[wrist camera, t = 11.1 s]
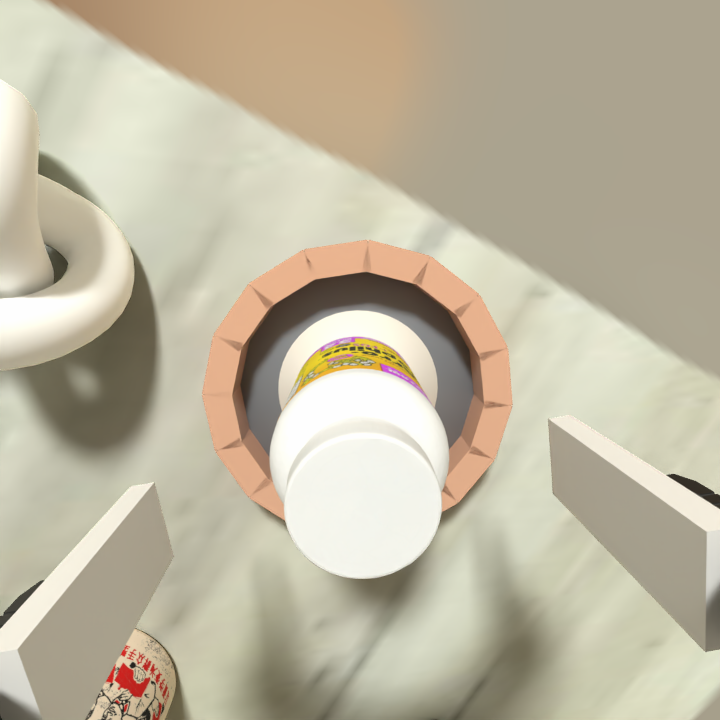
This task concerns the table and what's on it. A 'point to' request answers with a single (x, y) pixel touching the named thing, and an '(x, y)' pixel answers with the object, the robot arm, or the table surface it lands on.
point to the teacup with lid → (137, 683)
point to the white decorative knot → (31, 261)
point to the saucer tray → (357, 318)
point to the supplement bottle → (359, 460)
